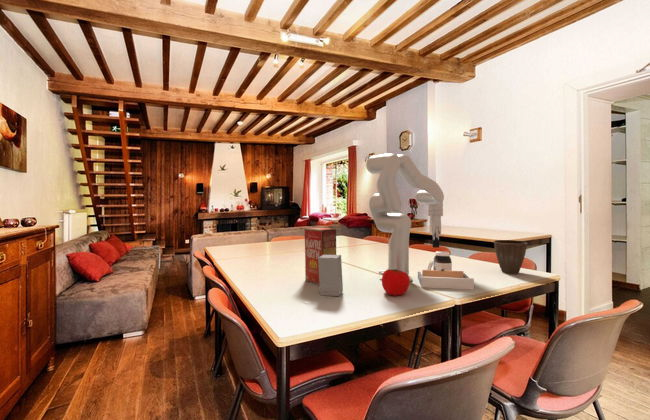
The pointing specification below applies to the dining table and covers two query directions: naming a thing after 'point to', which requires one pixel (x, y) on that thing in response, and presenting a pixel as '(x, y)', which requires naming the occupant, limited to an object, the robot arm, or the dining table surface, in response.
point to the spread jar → (441, 261)
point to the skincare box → (330, 275)
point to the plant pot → (510, 255)
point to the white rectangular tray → (446, 282)
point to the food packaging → (317, 249)
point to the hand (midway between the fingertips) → (435, 247)
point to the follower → (442, 273)
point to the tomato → (395, 282)
